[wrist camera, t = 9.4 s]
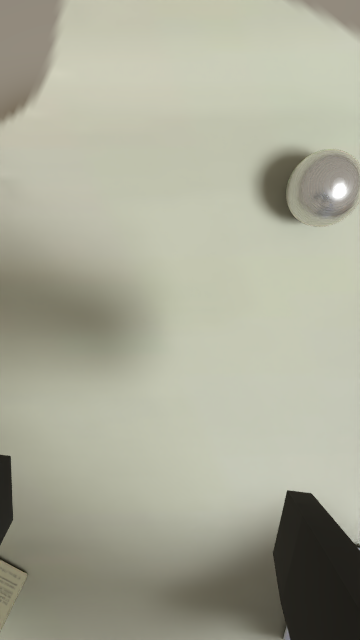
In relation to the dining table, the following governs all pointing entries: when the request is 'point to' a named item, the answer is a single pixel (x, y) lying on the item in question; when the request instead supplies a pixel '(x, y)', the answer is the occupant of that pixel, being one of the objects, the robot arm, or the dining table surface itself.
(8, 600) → the skincare box
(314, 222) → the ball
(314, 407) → the dining table surface
